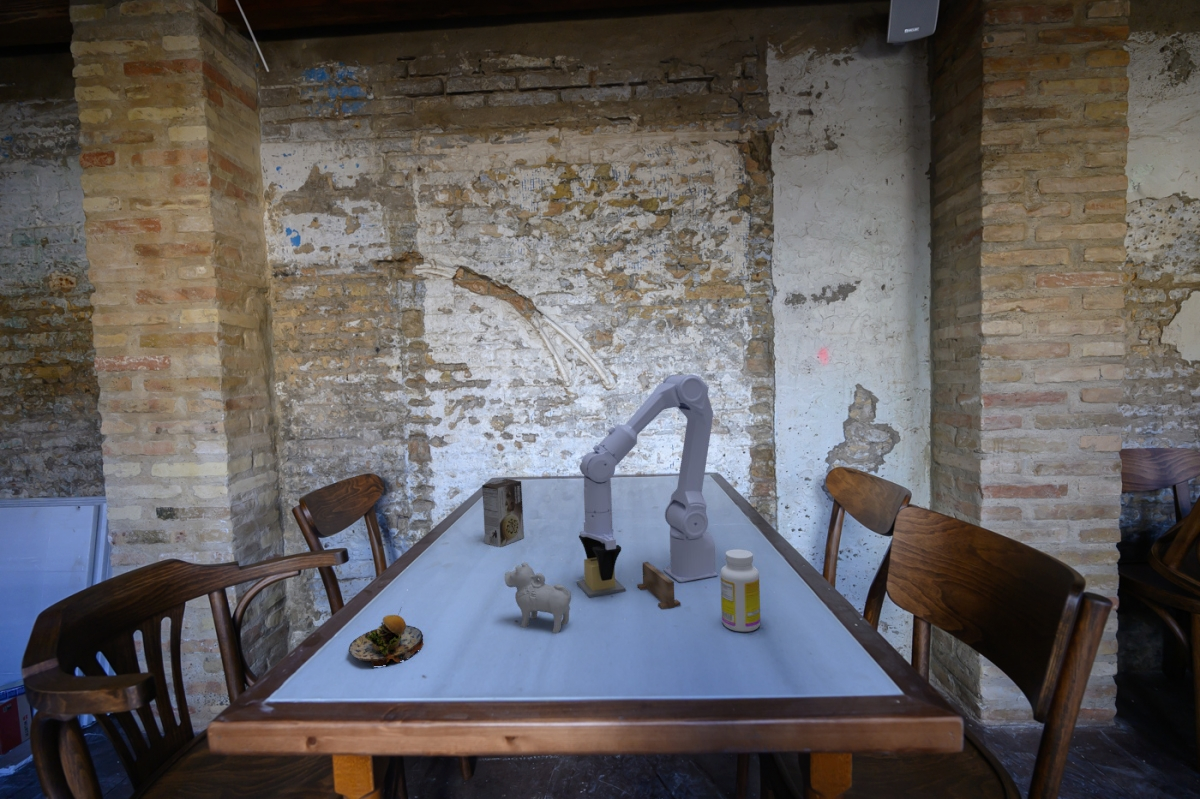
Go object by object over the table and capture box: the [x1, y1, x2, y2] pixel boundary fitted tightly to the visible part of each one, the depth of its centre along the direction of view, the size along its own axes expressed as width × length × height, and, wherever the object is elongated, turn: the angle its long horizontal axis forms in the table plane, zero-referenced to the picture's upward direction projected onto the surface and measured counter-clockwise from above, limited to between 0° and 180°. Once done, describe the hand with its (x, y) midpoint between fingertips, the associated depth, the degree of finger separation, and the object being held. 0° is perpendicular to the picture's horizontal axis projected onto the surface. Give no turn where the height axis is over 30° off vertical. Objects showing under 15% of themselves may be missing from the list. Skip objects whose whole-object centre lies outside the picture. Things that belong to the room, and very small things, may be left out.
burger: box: [347, 608, 424, 668], centre depth 94 cm, size 12×12×8 cm
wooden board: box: [636, 561, 682, 610], centre depth 112 cm, size 12×4×5 cm, turn 20°
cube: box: [583, 557, 616, 591], centre depth 117 cm, size 5×5×5 cm
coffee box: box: [481, 478, 525, 548], centre depth 151 cm, size 9×6×16 cm
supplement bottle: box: [720, 549, 761, 633], centre depth 98 cm, size 7×7×13 cm
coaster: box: [576, 578, 627, 599], centre depth 117 cm, size 8×8×1 cm
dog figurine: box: [504, 561, 572, 634], centre depth 102 cm, size 5×13×11 cm, turn 69°
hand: (600, 573), depth 117 cm, fingers open, 7 cm apart
